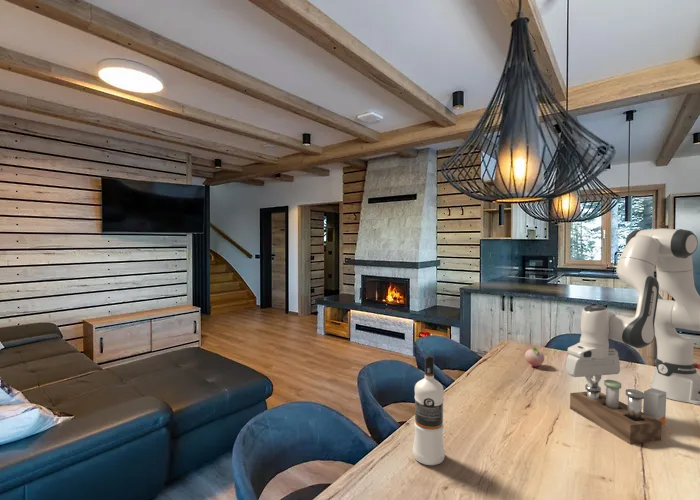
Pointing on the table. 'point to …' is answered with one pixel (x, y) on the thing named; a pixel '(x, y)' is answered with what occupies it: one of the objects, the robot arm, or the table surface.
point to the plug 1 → (593, 392)
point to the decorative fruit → (534, 357)
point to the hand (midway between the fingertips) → (592, 386)
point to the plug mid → (612, 394)
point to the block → (616, 419)
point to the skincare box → (655, 404)
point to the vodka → (429, 418)
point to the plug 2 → (634, 404)
